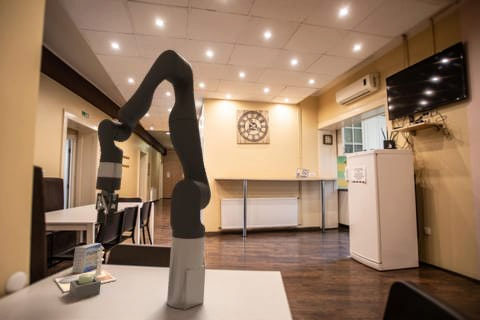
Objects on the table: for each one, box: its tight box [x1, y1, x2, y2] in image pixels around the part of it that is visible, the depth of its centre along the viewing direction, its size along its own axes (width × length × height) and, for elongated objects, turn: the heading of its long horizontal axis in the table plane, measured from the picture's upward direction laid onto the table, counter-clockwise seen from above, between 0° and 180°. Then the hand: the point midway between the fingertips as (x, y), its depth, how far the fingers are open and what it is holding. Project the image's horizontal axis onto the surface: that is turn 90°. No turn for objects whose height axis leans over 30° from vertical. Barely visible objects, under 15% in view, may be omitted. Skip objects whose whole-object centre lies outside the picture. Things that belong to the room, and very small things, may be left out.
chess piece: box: [94, 245, 107, 280], centre depth 77 cm, size 5×5×10 cm
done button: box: [78, 274, 94, 285], centre depth 66 cm, size 4×4×2 cm
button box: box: [68, 276, 102, 301], centre depth 66 cm, size 6×6×3 cm
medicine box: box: [72, 242, 103, 274], centre depth 86 cm, size 8×4×9 cm, turn 171°
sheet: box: [54, 269, 117, 294], centre depth 75 cm, size 13×14×1 cm
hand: (104, 224), depth 79 cm, fingers open, 8 cm apart
